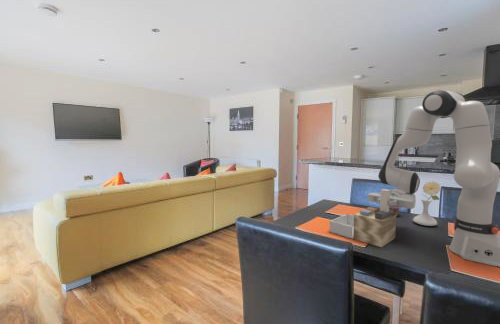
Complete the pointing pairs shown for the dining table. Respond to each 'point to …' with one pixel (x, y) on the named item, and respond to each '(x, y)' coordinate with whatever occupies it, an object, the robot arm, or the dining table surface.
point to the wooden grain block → (374, 229)
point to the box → (343, 226)
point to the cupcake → (395, 210)
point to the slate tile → (366, 212)
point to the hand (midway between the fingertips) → (384, 202)
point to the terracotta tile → (372, 209)
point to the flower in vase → (424, 217)
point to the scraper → (384, 205)
